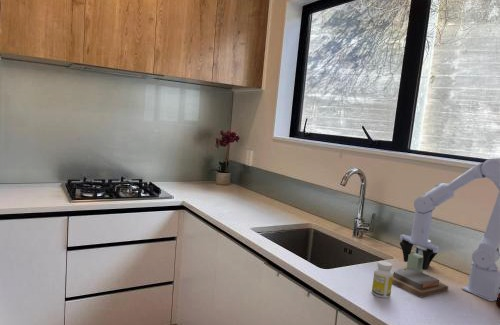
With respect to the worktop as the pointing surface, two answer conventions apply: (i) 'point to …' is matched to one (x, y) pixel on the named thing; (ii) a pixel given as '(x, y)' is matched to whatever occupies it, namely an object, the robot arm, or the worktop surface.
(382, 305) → the worktop surface
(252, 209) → the worktop surface
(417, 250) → the pill bottle
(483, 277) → the robot arm
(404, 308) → the worktop surface
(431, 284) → the stepped stand
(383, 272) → the supplement bottle
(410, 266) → the green block
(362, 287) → the worktop surface
